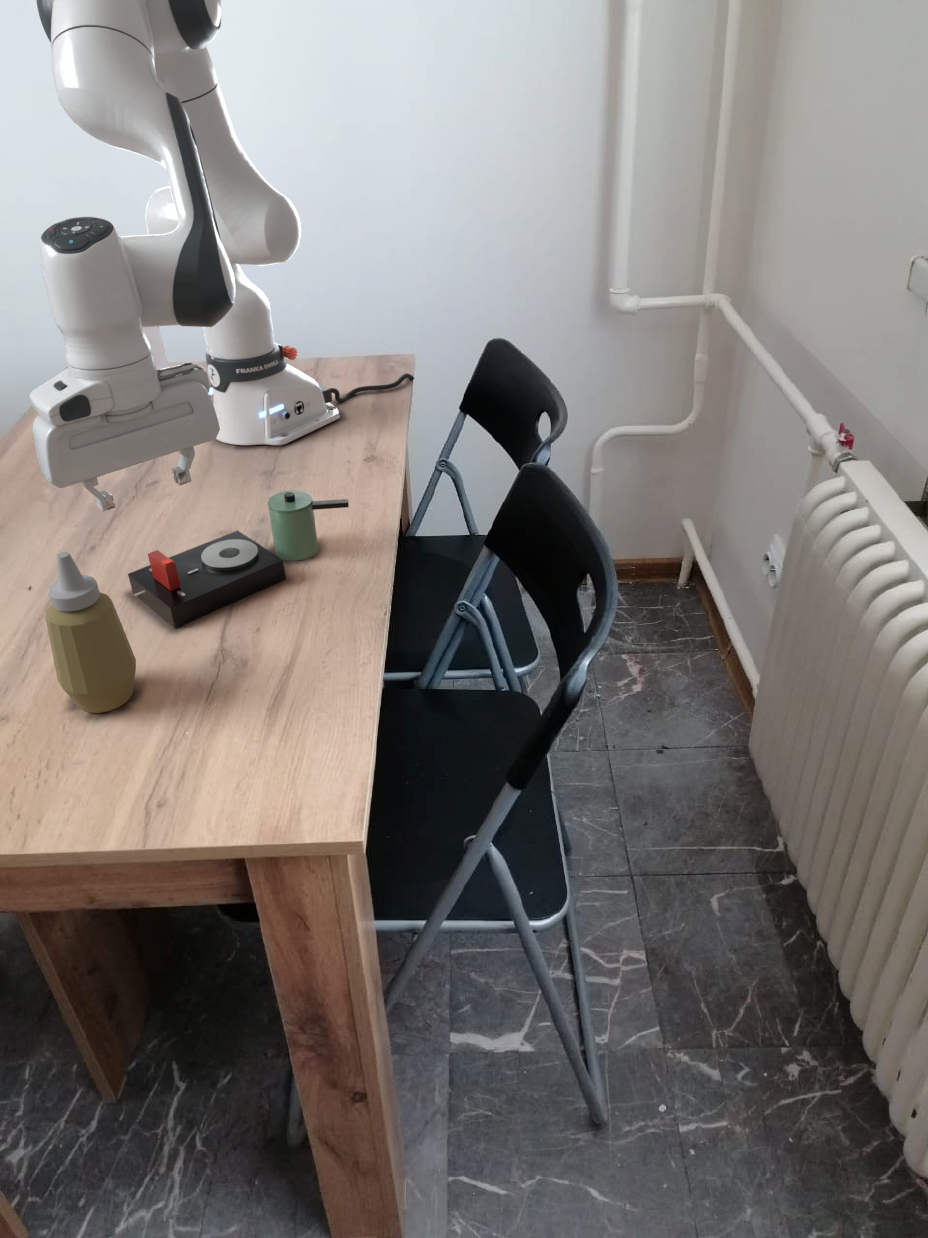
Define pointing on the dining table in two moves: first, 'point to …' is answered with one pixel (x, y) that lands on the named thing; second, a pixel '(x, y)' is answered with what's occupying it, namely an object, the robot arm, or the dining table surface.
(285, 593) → the dining table surface
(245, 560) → the burner
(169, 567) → the knob
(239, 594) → the hob
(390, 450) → the dining table surface
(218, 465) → the dining table surface
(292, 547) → the saucepan
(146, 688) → the dining table surface
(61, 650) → the squeeze bottle
